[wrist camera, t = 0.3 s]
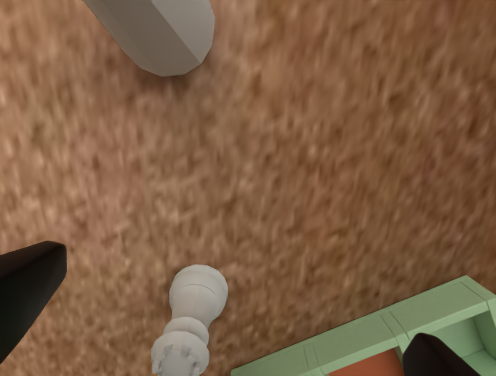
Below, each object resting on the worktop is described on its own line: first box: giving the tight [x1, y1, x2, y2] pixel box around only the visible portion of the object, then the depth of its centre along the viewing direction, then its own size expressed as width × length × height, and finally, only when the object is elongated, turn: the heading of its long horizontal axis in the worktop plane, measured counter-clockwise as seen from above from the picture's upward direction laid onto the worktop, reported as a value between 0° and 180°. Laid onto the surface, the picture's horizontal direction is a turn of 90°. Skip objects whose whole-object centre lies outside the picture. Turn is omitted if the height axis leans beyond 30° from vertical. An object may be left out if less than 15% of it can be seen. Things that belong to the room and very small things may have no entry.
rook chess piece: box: [151, 265, 228, 376], centre depth 19 cm, size 4×4×8 cm
